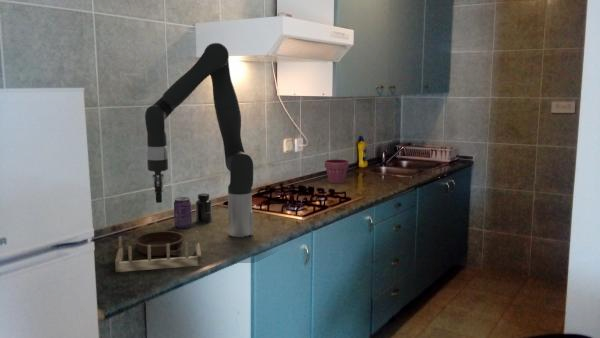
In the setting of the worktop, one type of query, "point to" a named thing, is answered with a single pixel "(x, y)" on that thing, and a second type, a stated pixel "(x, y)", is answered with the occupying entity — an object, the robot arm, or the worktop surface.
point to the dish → (160, 242)
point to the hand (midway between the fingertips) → (158, 202)
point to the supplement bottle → (203, 209)
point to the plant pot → (336, 170)
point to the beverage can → (182, 212)
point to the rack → (157, 263)
